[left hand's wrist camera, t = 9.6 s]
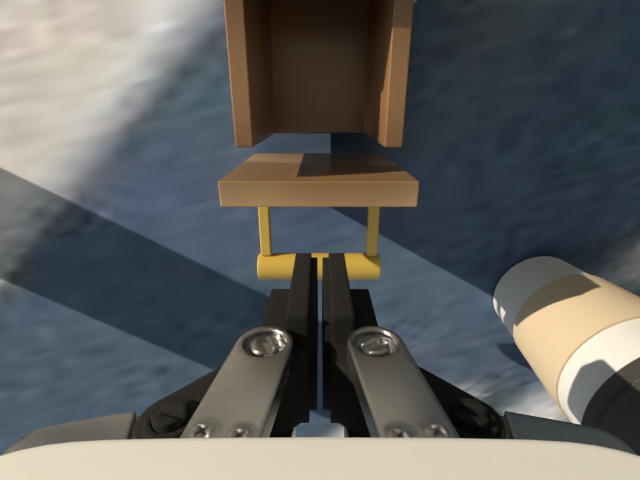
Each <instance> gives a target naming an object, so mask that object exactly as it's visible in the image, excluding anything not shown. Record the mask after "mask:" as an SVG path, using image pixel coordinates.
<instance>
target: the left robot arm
mask: <svg viewBox="0 0 640 480" xmlns="http://www.w3.org/2000/svg"><path fill="white" fill-rule="evenodd" d="M317 352H318V258H317V257H312V255H311V253H296V255H295V261H294V268H293V274H292V280H291V286H290V289H272V290H271V294H270V298H269V301H268V305H267V309H266V313H265V317H264V321H263V324H262V327H257V328H254V329H251V330H249V331H247V332H246V333H244V334H243V335H241V337H240V338H239V339H238V340H237V342H236V344H235V345H234V347H233V349H232V350H231V352H230V354H229V355H228V357H227V359H226V360H225V362H224V364H223V365H222V366H221V367H220V368H218V369H216V370H214V371H212V372H210V373H209V374H207V375H205V376H203V377H201V378H199V379H198V380H196V381H194V382H192V383H190V384H189V385H187V386H185V387H183V388H181V389H179V390H178V391H176V392H174V393H172V394H170V395H168V396H167V397H165V398H163V399H161V400H159V401H157V402H156V403H154V404H153V405H151V406H150V407H149V408H147V409H146V410H145V411H144V412H143V413H142V414H141V415H140V416H137V417H136V413H135V411H133V412H127V413H122V414H116V415H110V416H105V417H99V418H94V419H88V420H82V421H77V422H71V423H66V424H60V425H54V426H49V427H45V428H42V429H39V430H35V431H33V432H31V433H30V434H28V435H26V436H24V437H22V438H21V439H19V440H18V441H17V442H15V443H14V444H13V445H11V446H10V447H9V448H8V449H7V450H6V452H5V453H4V454H3V455H2V456H0V480H640V456H638V455H637V454H636V453H635V452H634V450H633V449H632V448H631V447H630V446H629V445H627V444H626V443H625V442H623V441H622V440H621V439H619V438H618V437H616V436H614V435H612V434H610V433H609V432H607V431H605V430H601V429H598V428H595V427H591V426H586V425H580V424H574V423H569V422H563V421H558V420H552V419H546V418H541V417H535V416H530V415H524V414H518V413H513V412H507V411H505V413H504V417H503V416H500V415H499V414H498V413H497V412H496V411H495V410H494V409H493V408H491V407H490V406H489V405H487V404H486V403H484V402H483V401H481V400H479V399H477V398H475V397H473V396H472V395H470V394H468V393H466V392H464V391H462V390H461V389H459V388H457V387H455V386H453V385H451V384H450V383H448V382H446V381H444V380H442V379H441V378H439V377H437V376H435V375H433V374H431V373H430V372H428V371H426V370H424V369H422V368H420V367H419V366H418V365H417V364H416V362H415V360H414V359H413V357H412V355H411V354H410V352H409V350H408V349H407V347H406V345H405V344H404V342H403V340H402V339H401V338H400V337H399V335H397V334H396V333H394V332H393V331H391V330H389V329H386V328H383V327H378V324H377V321H376V317H375V313H374V309H373V305H372V302H371V298H370V294H369V291H368V289H350V286H349V280H348V274H347V268H346V261H345V255H344V253H329V255H328V257H323V258H322V352H323V410H330V411H331V423H340V424H342V425H343V426H344V436H345V438H342V437H298V438H295V436H296V426H297V425H298V424H300V423H309V411H310V410H317Z"/></svg>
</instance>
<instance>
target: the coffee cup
mask: <svg viewBox="0 0 640 480" xmlns="http://www.w3.org/2000/svg"><path fill="white" fill-rule="evenodd" d="M493 302H494V308H495V310H496V312H497V314H498V316H499V317H500V318H501V320H502V321H503V323H504V324H505V326H506V327H507V329H508V330H509V332H510V333H511V334H512V336H513V337H514V339H515V342H516V345H517V346H518V348H519V350H520V351H521V352H522V354H523V355H524V357H525V358H526V360H527V361H528V363H529V364H530V366H531V367H532V369H533V370H534V372H535V373H536V375H537V376H538V378H539V379H540V380H541V382H542V383H543V385H544V386H545V388H546V389H547V391H548V392H549V394H550V395H551V397H552V398H553V400H554V401H555V403H556V404H557V406H558V407H559V408H560V410H561V411H562V413H563V414H564V415H565V416H566V418H568V419H569V420H570V421H571V422H572V423H574V424H580V425H586V426H591V427H595V428H598V429H601V430H605V431H607V432H609V433H610V434H612V435H614V436H616V437H618V438H619V439H621V440H622V441H623V442H625V443H626V444H627V445H629V446H630V447H631V448H632V449H633V450H634V452H635V453H636V454H637V455H638V456H640V297H639V296H637V295H635V294H633V293H631V292H629V291H627V290H625V289H623V288H621V287H619V286H617V285H615V284H613V283H611V282H609V281H607V280H605V279H603V278H600V277H597V276H593V275H590V274H588V273H586V272H584V271H582V270H580V269H578V268H577V267H575V266H573V265H571V264H569V263H567V262H565V261H563V260H561V259H558V258H555V257H550V256H539V257H533V258H530V259H527V260H524V261H522V262H520V263H518V264H516V265H515V266H513V267H512V268H511V269H509V270H508V271H507V272H506V273H505V274H504V275H503V277H502V278H501V279H500V281H499V282H498V284H497V286H496V289H495V292H494V297H493Z"/></svg>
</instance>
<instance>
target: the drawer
mask: <svg viewBox="0 0 640 480" xmlns="http://www.w3.org/2000/svg"><path fill="white" fill-rule="evenodd" d="M413 9H414V0H224V12H225V24H226V36H227V48H228V61H229V73H230V85H231V97H232V109H233V122H234V134H235V146H236V147H254V146H255V145H257V144H258V143H260V142H262V141H263V140H265V139H266V138H268V137H269V136H271V135H272V134H274V133H364V134H366V135H367V136H369V137H370V138H372V139H373V140H375V141H376V142H378V143H379V144H381V145H382V146H384V147H386V148H401V147H402V144H403V131H404V119H405V107H406V95H407V82H408V70H409V58H410V45H411V33H412V21H413ZM218 185H219V195H220V205H221V207H258V213H259V229H260V244H261V253H260V254H259V256H258V261H257V273H258V278H259V279H292V274H293V268H294V261H295V255H296V253H272V239H271V219H270V207H368V221H367V240H366V253H344V255H345V261H346V268H347V274H348V279H379V278H380V273H381V261H380V256H379V254H378V253H377V245H378V229H379V213H380V207H417V202H418V192H419V181H418V180H416V179H415V178H414V177H413V176H411V175H410V174H409V173H407V172H406V171H405V170H404V169H402V168H401V167H400V166H398V165H397V164H396V163H395V162H393V161H392V160H391V159H389V158H388V157H387V156H386V155H384V154H360V153H255V154H254V155H253V156H251V157H250V158H249V159H247V160H246V161H245V162H243V163H242V164H241V165H239V166H238V167H237V168H236V169H234V170H233V171H232V172H230V173H229V174H228V175H226V176H225V177H224V178H222V179H221V180H220V181H219V182H218ZM311 255H312V257H317V258H318V279H322V258H323V257H328V255H329V253H311Z"/></svg>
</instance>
